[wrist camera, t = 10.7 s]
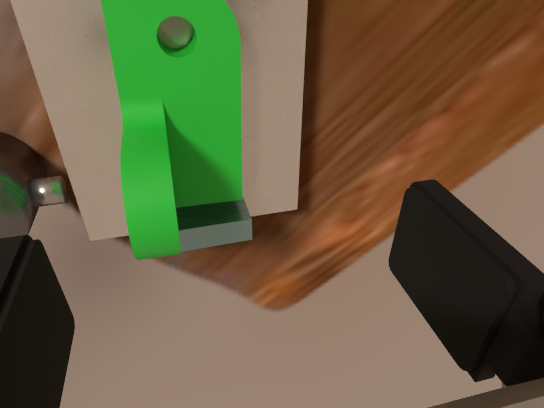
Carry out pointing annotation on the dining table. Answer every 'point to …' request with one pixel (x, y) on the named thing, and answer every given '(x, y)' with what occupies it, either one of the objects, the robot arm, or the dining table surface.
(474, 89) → the dining table surface
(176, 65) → the mechanical part
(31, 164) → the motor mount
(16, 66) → the dining table surface
